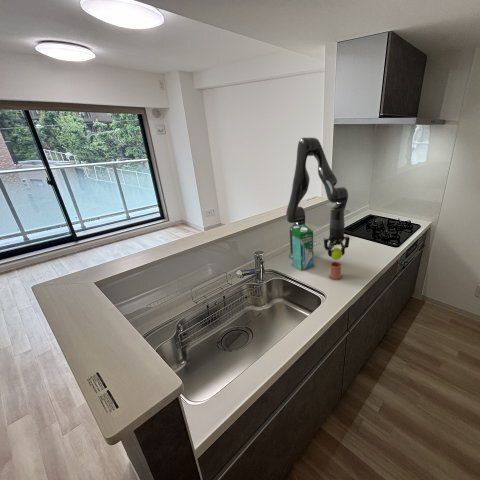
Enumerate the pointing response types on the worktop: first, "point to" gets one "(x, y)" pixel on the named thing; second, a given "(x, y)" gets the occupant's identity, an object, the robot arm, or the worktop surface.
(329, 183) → the robot arm
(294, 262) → the milk carton
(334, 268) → the cup
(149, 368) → the worktop surface
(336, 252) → the ball
